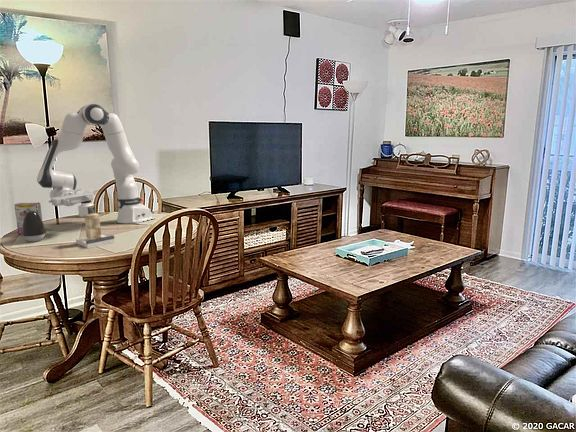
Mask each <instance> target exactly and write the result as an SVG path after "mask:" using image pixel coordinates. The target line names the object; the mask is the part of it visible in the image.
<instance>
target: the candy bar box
mask: <svg viewBox="0 0 576 432" xmlns="http://www.w3.org/2000/svg"><path fill="white" fill-rule="evenodd" d="M41 207H42V206H41V202H18V203H17V202H16V203H15V204H14V211H15V220H16V227H17V234H18V235H22V225H23V220H24V217H25V214H24V212H29V211H35V212H37V213H38V214H39V216H40V217H41V219H42V220H43V217H42V216H43V215H42V208H41Z"/></svg>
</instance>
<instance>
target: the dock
mask: <svg viewBox="0 0 576 432" xmlns="http://www.w3.org/2000/svg"><path fill="white" fill-rule="evenodd" d="M115 242H116V241H115V235H113V234H112V235H108V236H107V235H104V234H101V238H96V239H91V240H89V239H87V236H86V237H82V238H77V239H75V243H76V245H79V246H82V247H84V248H87V249H91V248H95V247H102V246H105V245H109V244H114V243H115Z"/></svg>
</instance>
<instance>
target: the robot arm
mask: <svg viewBox="0 0 576 432" xmlns="http://www.w3.org/2000/svg"><path fill="white" fill-rule="evenodd" d="M61 125H62V126H61V129H60V134H59V135H58V137H57V138H56V139H53V140H52V141H51V143H50V144H49V146H48V147H49V148H48V150H47V152H46V155H45V157H44V160H43V163H42V165H41V168H40V170H39V171H38V174H37V176H36V177H37V178H36V181H37V183H38V185H39V186H41V187H42V188H43V189H44V188H45V189H51V190H50V192H49V198H50V200H48V203H50V204H51V203H52V204H51V205H53V206H54V207H60V206H65V207H72V206H74V205H77V204H81V202H84V201H89V200H91V201H94V199H95V195H94V193H93V192H91V191H87V190H85V189H77V178H76V176H75V175H74V173H72V172H69V171H62V170H56V169H53V167H54V165H55V163H56V160H57V157H58V155H59V154H60V153H62V152H67V151H73V150H76V149H79V147H81V145H82V143H83V142H84V136H85V134H84V133H85V130H86V128H87V126H89V125H92V126H95V125H99V126H100V127H101V129H102V132H103V135H104V138H105V141H106V144H107V147H108V150H109V151H110V153H111V154H112V156H113V158H112V159H111V163H110V166H111V169H112V173H113V176H114V181H115V186H116V194H117V197H116V198H117V199H116V202H117V203H116V204H117V209H118V211H117V218H116V222H117V223H118V224H140V223H144V222H148V221H147V220H149V221H152V220H151V219H153V220H155V219H154V218H156V216H155V215H152V212H151V209H150V208H149V207H148V206H146V205H144V204H143V203H142V202H144V200H145V198H143V197H138V187H137V183H136V181H135V178H134V175H135V174H137V173H138V172H139V170H140V163H139V161H138V160H137V159H136V156H135V154H134V152H133V150H132V148H131V147H130V144H129V141H128V139H127V138H128V137H127V135H126V133H125V132H126V131H125V129H124V127H123V126H124V125H123V123H122V121H121V119H120V118H119V116H118V115H117V114H116V113H113V112H112V113H111V112H108V111H107V110H106V109H105V108H104V107H103V106H101V105H99V104H97V103H89V104H85V105H84V106H82V107H81V108H80V109H79V110H78V111H77V112H68V113H66V115H65V117H64V119H63V122H62V124H61ZM143 221H144V222H143Z"/></svg>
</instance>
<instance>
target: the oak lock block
mask: <svg viewBox="0 0 576 432" xmlns="http://www.w3.org/2000/svg"><path fill="white" fill-rule="evenodd" d="M95 213H96V212H95ZM95 213H94V214H87V215H84V216H85V217H84V224H85V226H84V227H85V234H86V237H87V239H89V240H91V239H96V238H101V235H102V230H101V219H100V218H101V217H100V214H98V213H96V214H95Z"/></svg>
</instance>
